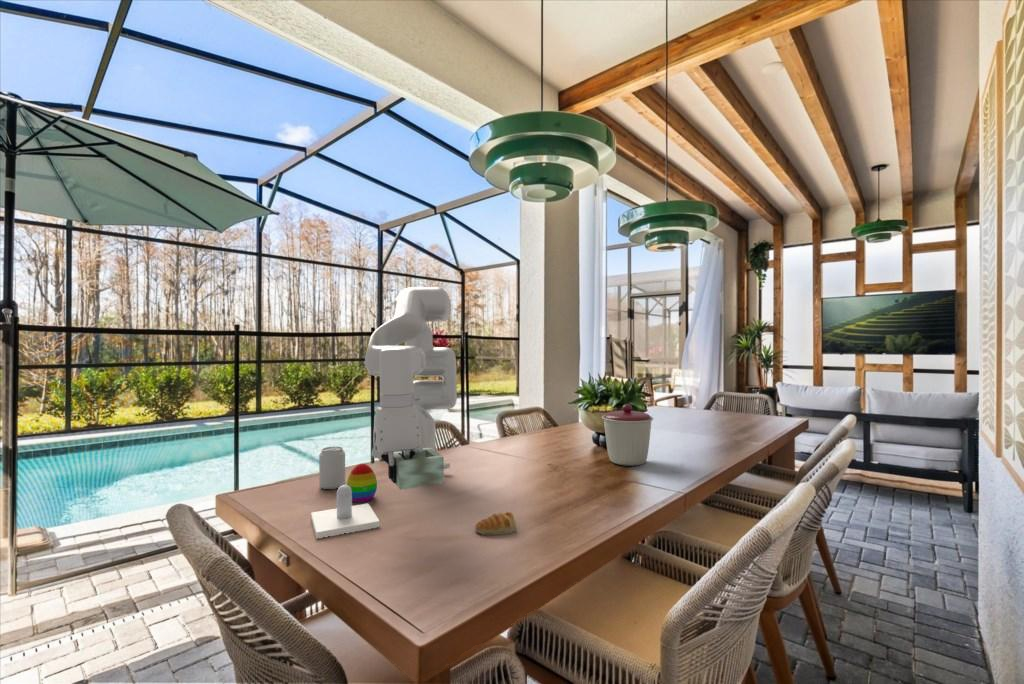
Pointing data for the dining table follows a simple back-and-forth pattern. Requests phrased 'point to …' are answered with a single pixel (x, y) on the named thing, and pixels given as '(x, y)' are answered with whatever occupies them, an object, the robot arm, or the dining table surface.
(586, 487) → the dining table surface
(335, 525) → the post board
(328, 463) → the can
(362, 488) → the decorative egg
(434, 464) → the collar
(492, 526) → the pastry
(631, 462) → the canister
